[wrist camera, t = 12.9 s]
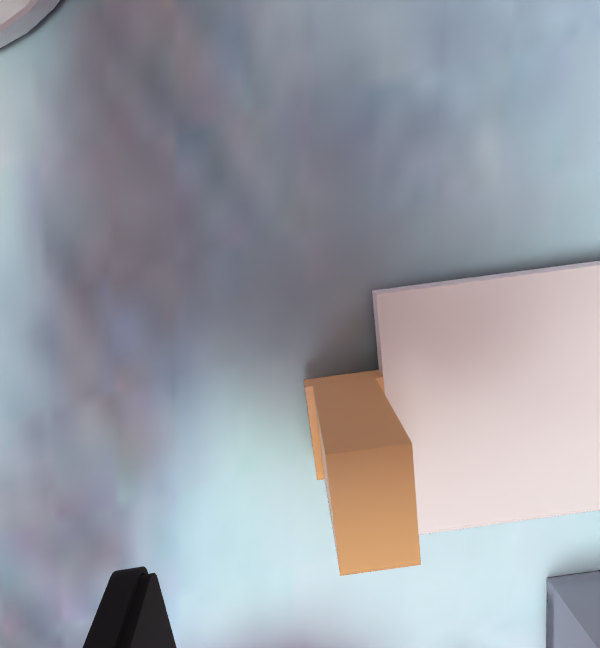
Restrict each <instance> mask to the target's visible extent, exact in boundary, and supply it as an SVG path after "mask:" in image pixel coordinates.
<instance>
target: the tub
mask: <svg viewBox="0 0 600 648" xmlns="http://www.w3.org/2000/svg"><path fill="white" fill-rule="evenodd" d="M546 648H600V571H596V572H589V573H581V574H574V575H567V576H560V577H552V578H547V646H546Z"/></svg>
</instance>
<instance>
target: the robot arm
mask: <svg viewBox="0 0 600 648" xmlns="http://www.w3.org/2000/svg"><path fill="white" fill-rule="evenodd" d="M59 1H60V0H0V48H2V47H3V46H5V45H7V44H9V43H10V42H12V41H14V40H16V39H17V38H19V37H21V36H23V35H24V34H26V33H28V32H29V31H30V30H31V29H32V28H33V27H34V26H36V25H37V24H38V23H39V22H40V21H41V20H42V19H43V18H44V17H45V16H46V15H47V14H49V13H50V12H51V11H52V10H53V9H54V8H55V6H56V5H57V4H58V2H59ZM83 648H176V644H175V641H174V637H173V633H172V630H171V626H170V622H169V619H168V615H167V611H166V608H165V604H164V600H163V597H162V593H161V589H160V585H159V582H158V578H157V575H156V574H155V573H151V574H148V572H147V569H146V568H145V567H137V568H131V569H124V570H118V571H115V572H113V573H112V575H111V577H110V579H109V582H108V585H107V587H106V590H105V592H104V595H103V597H102V600H101V602H100V605H99V608H98V610H97V613H96V615H95V618H94V620H93V623H92V625H91V628H90V630H89V633H88V636H87V638H86V641H85V643H84V646H83Z"/></svg>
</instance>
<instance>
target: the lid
mask: <svg viewBox="0 0 600 648" xmlns="http://www.w3.org/2000/svg"><path fill="white" fill-rule="evenodd" d="M372 295H373V306H374V318H375V329H376V340H377V352H378V363H379V370H373V371H365V372H358V373H350V374H343V375H335V376H328V377H320V378H313V379H305V380H304V384H305V392H306V399H307V407H308V415H309V422H310V430H311V438H312V445H313V453H314V460H315V468H316V475H317V480H321V479H325V485H326V491H327V497H328V503H329V509H330V515H331V522H332V528H333V534H334V540H335V546H336V552H337V558H338V564H339V571H340V576H342V575H349V574H356V573H364V572H371V571H378V570H386V569H393V568H400V567H407V566H415V565H421V560H420V546H419V535H420V534H427V533H434V532H442V531H449V530H456V529H464V528H471V527H478V526H486V525H493V524H500V523H508V522H515V521H522V520H530V519H537V518H544V517H552V516H559V515H566V514H574V513H581V512H588V511H596V510H600V261H593V262H586V263H578V264H570V265H563V266H555V267H547V268H540V269H532V270H525V271H517V272H509V273H502V274H494V275H487V276H479V277H471V278H464V279H456V280H448V281H441V282H433V283H426V284H418V285H410V286H403V287H395V288H387V289H380V290H372Z"/></svg>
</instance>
